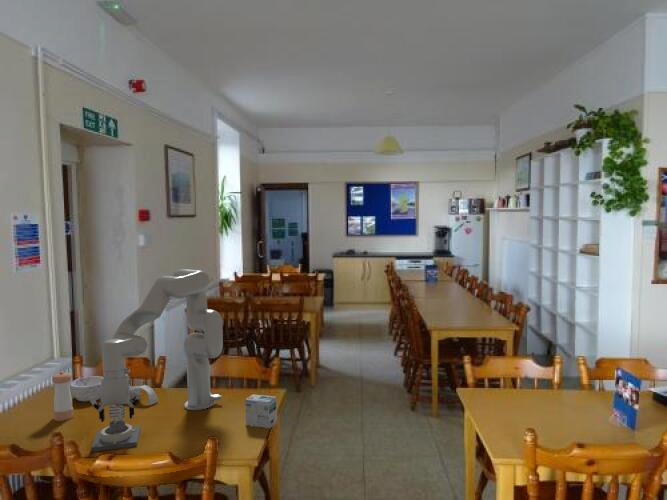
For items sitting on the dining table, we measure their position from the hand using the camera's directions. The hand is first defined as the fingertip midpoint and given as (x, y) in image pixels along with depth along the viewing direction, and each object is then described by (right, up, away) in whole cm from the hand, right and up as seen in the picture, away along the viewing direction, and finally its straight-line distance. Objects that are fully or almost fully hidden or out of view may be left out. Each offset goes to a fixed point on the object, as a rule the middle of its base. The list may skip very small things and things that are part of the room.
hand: (117, 418), depth 191 cm
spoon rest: (-9, -6, +42) cm, 44 cm away
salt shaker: (-31, -7, +23) cm, 39 cm away
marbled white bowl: (-32, -5, +45) cm, 55 cm away
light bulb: (0, -7, 0) cm, 7 cm away
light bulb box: (+51, -7, +13) cm, 53 cm away
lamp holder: (0, -8, 0) cm, 8 cm away
